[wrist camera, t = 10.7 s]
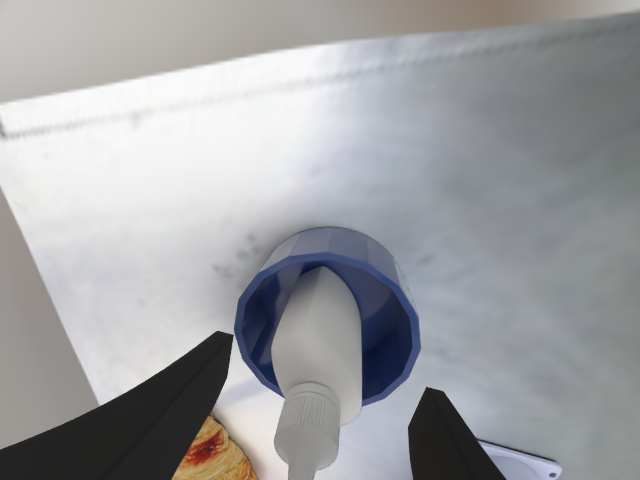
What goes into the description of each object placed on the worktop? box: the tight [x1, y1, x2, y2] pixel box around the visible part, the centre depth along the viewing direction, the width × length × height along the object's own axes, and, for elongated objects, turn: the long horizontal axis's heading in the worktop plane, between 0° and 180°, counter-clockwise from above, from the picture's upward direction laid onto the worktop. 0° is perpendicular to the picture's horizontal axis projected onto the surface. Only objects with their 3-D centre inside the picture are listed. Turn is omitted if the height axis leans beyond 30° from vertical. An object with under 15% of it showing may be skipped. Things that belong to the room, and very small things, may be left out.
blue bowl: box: [234, 227, 421, 407], centre depth 20 cm, size 10×10×5 cm
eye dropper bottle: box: [271, 266, 362, 480], centre depth 16 cm, size 4×6×12 cm
